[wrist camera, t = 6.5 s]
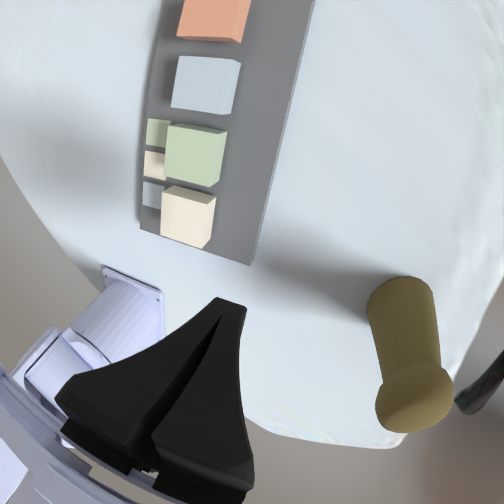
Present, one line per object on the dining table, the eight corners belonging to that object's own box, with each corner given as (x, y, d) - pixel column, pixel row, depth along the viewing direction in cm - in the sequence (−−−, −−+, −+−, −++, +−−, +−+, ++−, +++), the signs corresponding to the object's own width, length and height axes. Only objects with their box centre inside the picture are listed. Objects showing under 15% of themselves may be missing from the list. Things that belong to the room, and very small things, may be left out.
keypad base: (253, 259, 22) (249, 267, 21) (146, 224, 24) (138, 229, 23) (315, -1, 12) (313, -7, 11) (176, -8, 13) (168, -12, 12)
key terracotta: (240, 43, 13) (231, 37, 11) (189, 40, 13) (176, 36, 12) (252, -4, 11) (244, -13, 9) (200, -5, 11) (188, -12, 10)
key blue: (230, 113, 16) (221, 114, 14) (183, 106, 16) (170, 107, 15) (241, 63, 14) (232, 59, 13) (191, 58, 14) (179, 55, 13)
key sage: (218, 180, 18) (209, 187, 17) (175, 169, 19) (163, 175, 17) (227, 131, 16) (217, 134, 15) (180, 123, 17) (168, 125, 16)
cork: (353, 319, 23) (348, 435, 13) (390, 265, 19) (414, 389, 10) (407, 339, 22) (417, 446, 13) (446, 291, 19) (482, 403, 10)
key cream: (210, 238, 21) (201, 248, 19) (170, 225, 21) (160, 234, 20) (216, 196, 19) (207, 204, 18) (173, 185, 19) (162, 192, 18)
